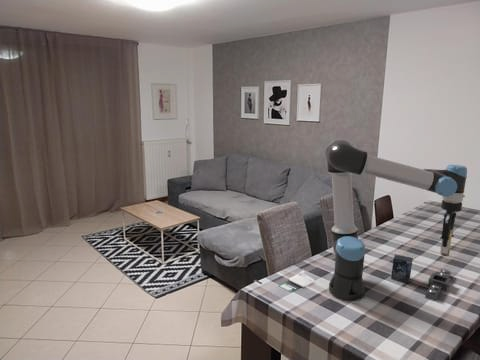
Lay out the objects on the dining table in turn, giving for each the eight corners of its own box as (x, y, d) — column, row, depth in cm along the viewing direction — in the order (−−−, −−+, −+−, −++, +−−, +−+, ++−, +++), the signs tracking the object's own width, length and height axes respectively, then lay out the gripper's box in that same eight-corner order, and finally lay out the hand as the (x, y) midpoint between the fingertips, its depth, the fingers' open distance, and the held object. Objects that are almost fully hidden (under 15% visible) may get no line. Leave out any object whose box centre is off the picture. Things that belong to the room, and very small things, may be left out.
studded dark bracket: (440, 302, 144) (441, 295, 143) (420, 296, 149) (421, 288, 148) (454, 277, 166) (455, 270, 165) (437, 272, 170) (438, 266, 170)
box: (390, 278, 163) (393, 258, 161) (392, 273, 168) (394, 253, 166) (409, 283, 160) (412, 262, 157) (410, 278, 164) (412, 257, 162)
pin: (448, 257, 152) (452, 231, 149) (438, 254, 154) (442, 229, 152) (450, 254, 155) (454, 229, 152) (441, 252, 157) (444, 227, 155)
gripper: (458, 206, 141) (450, 260, 146) (465, 198, 153) (458, 248, 158) (438, 203, 146) (430, 254, 151) (446, 195, 158) (439, 244, 163)
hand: (444, 251), depth 154 cm, fingers closed on pin, 3 cm apart
